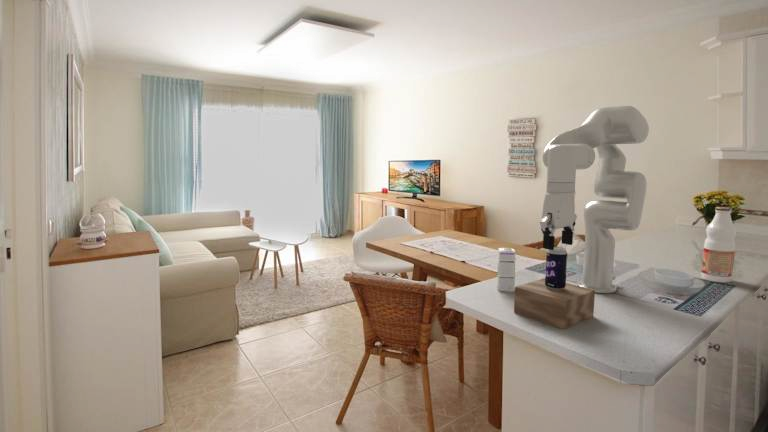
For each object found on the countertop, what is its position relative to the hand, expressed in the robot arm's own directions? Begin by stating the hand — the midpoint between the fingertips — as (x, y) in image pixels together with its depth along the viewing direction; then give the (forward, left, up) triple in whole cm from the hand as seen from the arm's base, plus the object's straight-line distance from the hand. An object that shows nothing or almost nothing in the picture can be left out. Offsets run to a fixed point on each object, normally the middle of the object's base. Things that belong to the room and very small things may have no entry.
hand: (557, 246), depth 123 cm
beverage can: (0, 0, -13) cm, 13 cm away
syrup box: (-8, -24, -21) cm, 33 cm away
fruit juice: (-83, +17, -21) cm, 88 cm away
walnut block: (+1, 0, -21) cm, 21 cm away
